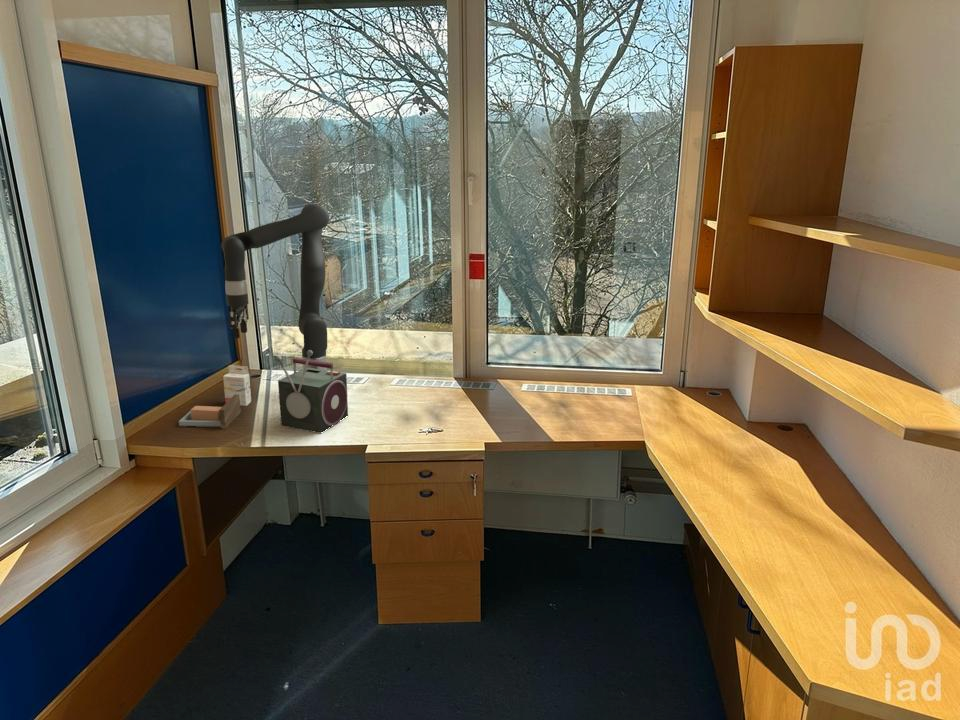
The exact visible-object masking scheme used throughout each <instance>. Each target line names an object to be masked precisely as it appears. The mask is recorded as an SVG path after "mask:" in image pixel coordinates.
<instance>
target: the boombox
mask: <svg viewBox="0 0 960 720" xmlns="http://www.w3.org/2000/svg"><path fill="white" fill-rule="evenodd" d="M312 354H313V352H312V351H311V350H308V351H307V355H308V357H307V359H302V357H301V358H300V357H293V356H292V366H293V373H291V374H289V373H288V371H287V368H286V367H285V365H284V363H283V361H282V360H283V357H282V356H281V355H277V356H276V357H275V361H276V362H279V364H280V366H281V368H282V370H283V372H284V374H285V377H282V378H281V379H278V380H277V385H278V386H277V388H278V397H279V398H278V400H279V402H278V403H279V415H280V426H281V427H285V428H286V427H287V428H292V429H296V430H301V429H302V431H307V430H308V432H312V431H315V432H314V433H317V432H323V431H325V430H326V429H328V428H329V427H331V426H332V425H334V426H336V425H337V424H339V423H340V422H339V421H340V420H342V419H343V418H345V417H346V416H348V417H349V407H348V405H349V404H348V382H347V381H348V380H347V379H348V378H347V375H348V374H347V373H346V372H341V371H338V370H333V368H334V364H333V362H329V361H326V362H322V361H315V360H309V358H310V356H312ZM297 364H299V365H303V364H305V367H304V369H303V368H302V369H300V370H298V371H297ZM307 365H311V366H318V367H324V368H327V370H322V369H315V368H309V367H307ZM328 369H329V370H328ZM345 419H346V418H345ZM342 421H343V420H342ZM338 422H339V423H338ZM336 423H337V424H336ZM335 424H336V425H335ZM331 428H332V427H331ZM328 430H329V429H328ZM326 431H327V430H326ZM326 431H325V432H326ZM323 433H324V432H323Z"/></svg>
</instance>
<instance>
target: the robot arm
mask: <svg viewBox="0 0 960 720" xmlns="http://www.w3.org/2000/svg"><path fill="white" fill-rule="evenodd" d="M329 222H330V213H329V211H328V210H327V209H326V208H325V207H324V206H322V205H320V204H317V203H308V204H306V205H305V206H303V208H302V209H301V211H300V213H298V214H297V215H294V216H291V217H289V218H288V217H287V218H286V219H282V220H277V221H273V222H270V223H269V222H268V223H265V224H262V225H259V226H257V227H256V226H255V227H254V228H250V229H248V230H247V231H242V232H238V233H234V234H230V235H228V236H226V237H225V238H224V239H222V242H221V244H220V247H221V249H222V252H223V253H224V254H223V255H224V261H225V266H224V279H225V281H224V283H225V284H224V285H225V298H226V299H225V301H226V306H228V307H231V311H228V315H227V316H228V328H229V329H232V337H233V339H234V340H235V339H238V340H239V339H240V338H241V337H240V335H241V333H242V334H243V333H244V334H246V333H247V332H248V325H247V324H248V321H249V319H250V316H249V304H250V303H249V294H248V293H249V292H248V291H249V290H248V284H247V278H246V277H247V276H246V275H247V274H246V267H245V261H246V259H245V258H246V251H249V250H253V249H260V248H262V247H265V246H268V245H271V244H273V243H276V242H278V241H281V240H284V239H286V238H289V237H291V236H295V235H299V234H301V235H302V236H301V240H302V241H301V255H300V256H301V257H300V308H299V309H300V310H299V317H298V325H297V326H298V329H299V332H300V333H301V334H302V335H303V348H302V349H301V358H302V359H307V357H308V355H307V351H308V350H311V351H312V352H313V354H312V356H310V358H309V360H315V361H322V362H327V350H328V326H327V323H326V322H325V320H324V319H322V318H321V315H320V313H321V311H320V302H321V301H320V300H321V297H322V293H323V291H324V287H325V284H326V283H325V282H326V260H325V259H326V258H325V254H324V251H323V250H324V248H323V244H322V237H323V236H322V235H323V229H324V228H325V227H327V225H328V224H329ZM304 367H305V364H302V369H304ZM307 367H309V368H315V369H322V370H328V368H324V367H318V366H311V365H307Z"/></svg>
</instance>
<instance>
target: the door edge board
mask: <svg viewBox="0 0 960 720" xmlns="http://www.w3.org/2000/svg"><path fill="white" fill-rule="evenodd" d="M221 407H222V408H221V409H220V410H219V412H220V422H221V427H220V428H221V430H223V429H225V430H226V429H227V428H228V427H229V426H230V425H231V423H233V421H234V420H235V419H236V418H237V417H238V416H239V415H240V413H241V412H242V411H241V406H240V397H239V394H235V395H234V396H233V397H232V398H231V399H230V400H229V401H228V402H227V403H226V404H224V405H222V406H221Z"/></svg>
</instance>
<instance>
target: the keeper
mask: <svg viewBox="0 0 960 720" xmlns="http://www.w3.org/2000/svg"><path fill="white" fill-rule="evenodd" d="M178 426H179V427H187V426H196V428H197V427H201V428H203V427H204V428H221V422H220V421H200V420H192V418H191V410H190V411H188V412H187V413H186V414H185V415H184V416H183V417H181V418H180V419H179V420H178Z"/></svg>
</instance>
